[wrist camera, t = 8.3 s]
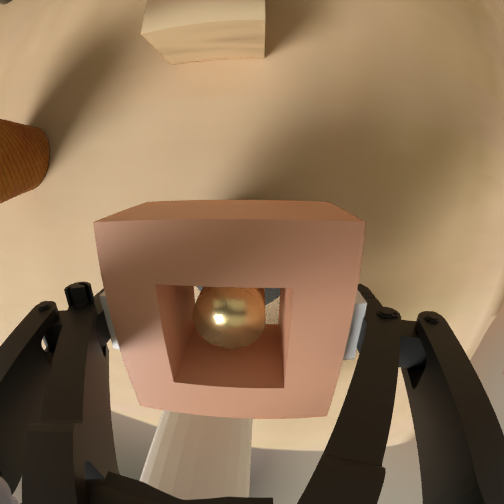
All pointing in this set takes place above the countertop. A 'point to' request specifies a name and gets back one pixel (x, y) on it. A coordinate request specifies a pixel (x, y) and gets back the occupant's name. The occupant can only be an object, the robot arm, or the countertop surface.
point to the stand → (205, 29)
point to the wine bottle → (200, 456)
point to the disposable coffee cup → (21, 158)
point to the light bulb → (231, 314)
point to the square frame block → (232, 275)
